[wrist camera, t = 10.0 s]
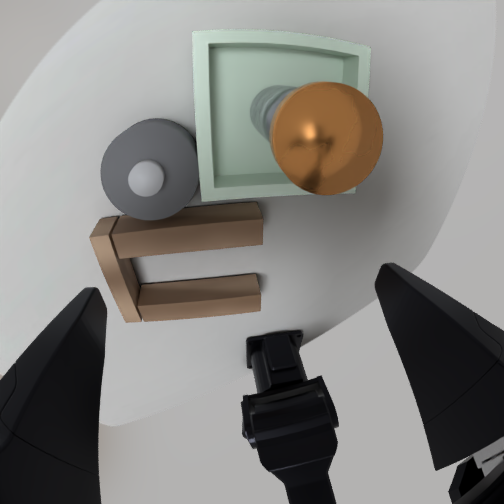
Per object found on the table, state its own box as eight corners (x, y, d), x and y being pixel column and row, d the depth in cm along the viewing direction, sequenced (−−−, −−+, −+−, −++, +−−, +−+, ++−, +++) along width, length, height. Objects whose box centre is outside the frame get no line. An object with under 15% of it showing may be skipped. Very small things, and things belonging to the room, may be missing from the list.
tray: (338, 179, 19) (355, 193, 17) (201, 185, 18) (201, 201, 16) (350, 48, 13) (370, 47, 11) (194, 38, 12) (192, 31, 10)
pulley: (203, 198, 18) (203, 221, 16) (121, 208, 18) (109, 232, 15) (196, 113, 15) (194, 120, 12) (105, 127, 14) (87, 139, 11)
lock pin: (308, 147, 17) (370, 196, 10) (241, 144, 16) (269, 194, 10) (315, 83, 14) (390, 95, 8) (245, 76, 13) (279, 73, 7)
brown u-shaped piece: (255, 290, 24) (260, 311, 22) (129, 301, 23) (125, 322, 21) (256, 201, 19) (263, 219, 17) (99, 219, 18) (89, 237, 16)
